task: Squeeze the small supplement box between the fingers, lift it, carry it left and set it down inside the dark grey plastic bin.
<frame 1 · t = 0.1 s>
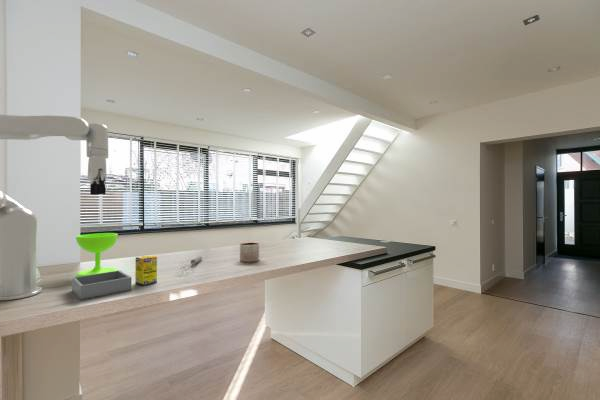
hand: (97, 194, 121), 37 cm above the countertop, tool pointing down, fingers open, 9 cm apart
planter: (249, 260, 163), on the countertop
kitchen whisk: (192, 267, 148), on the countertop
supplement box: (146, 283, 119), on the countertop
wineglass: (97, 274, 134), on the countertop
bin: (101, 290, 109), on the countertop
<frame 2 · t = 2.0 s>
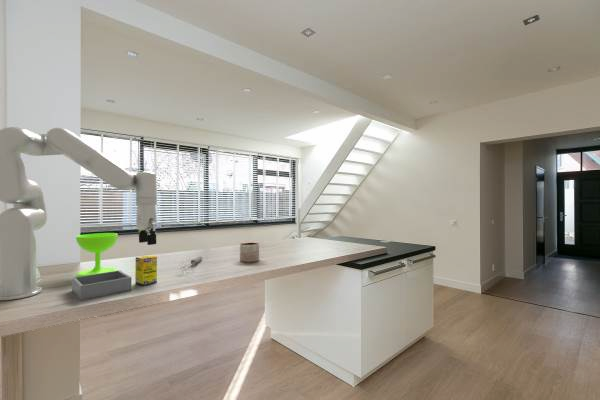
hand: (147, 243, 119), 16 cm above the countertop, tool pointing down, fingers open, 9 cm apart
nothing on the countertop moved.
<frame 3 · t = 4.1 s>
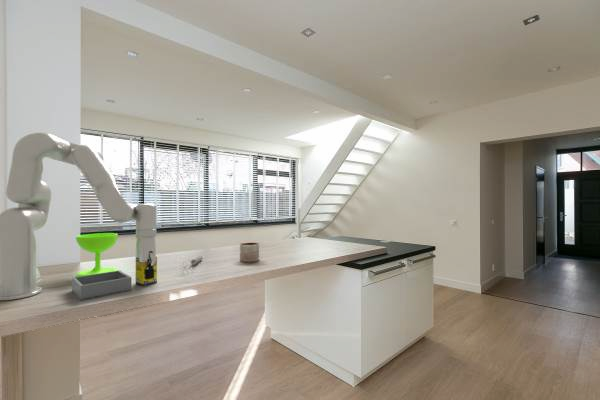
hand: (146, 276, 119), 3 cm above the countertop, tool pointing down, fingers closed on supplement box, 6 cm apart
supplement box: (146, 283, 119), on the countertop, touching gripper
everything else where it was.
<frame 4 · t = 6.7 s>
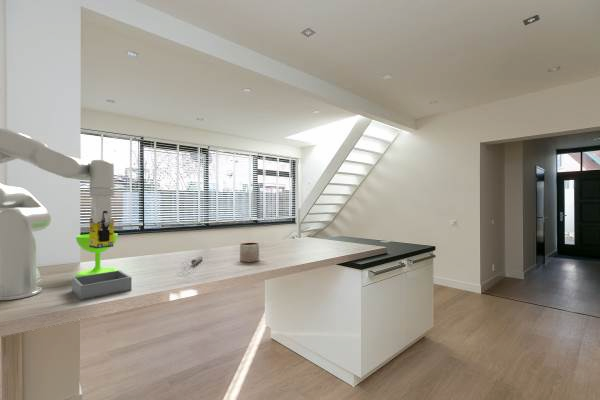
hand: (101, 239, 109), 19 cm above the countertop, tool pointing down, fingers closed on supplement box, 6 cm apart
supplement box: (101, 247, 109), point 16 cm above the countertop, touching gripper
everything else where it was.
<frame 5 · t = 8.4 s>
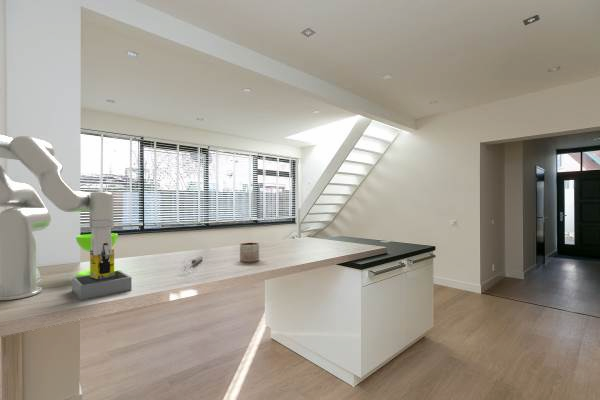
hand: (102, 271, 109), 7 cm above the countertop, tool pointing down, fingers closed on supplement box, 6 cm apart
supplement box: (102, 278, 109), point 4 cm above the countertop, touching gripper
everything else where it was.
when the fingers open (6 cm above the countertop, at t = 9.6 s): supplement box drops 3 cm, resting on bin.
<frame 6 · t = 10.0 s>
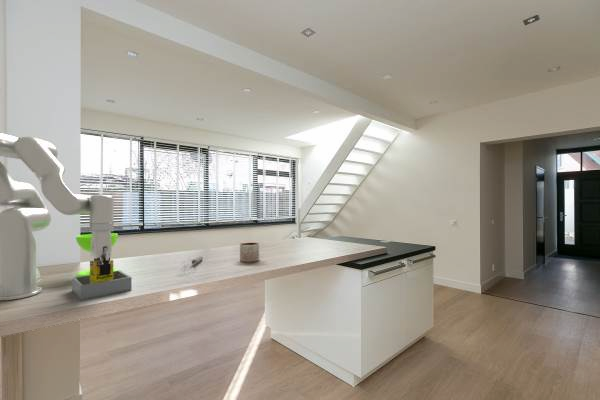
hand: (101, 272, 109), 7 cm above the countertop, tool pointing down, fingers open, 9 cm apart
supplement box: (101, 289, 109), resting on bin
everything else where it was.
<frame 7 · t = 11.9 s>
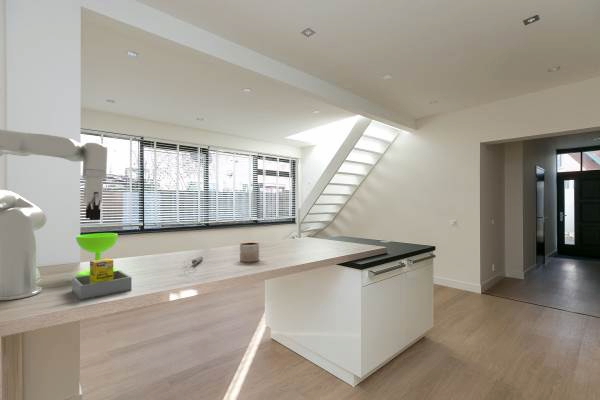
hand: (92, 219, 112), 27 cm above the countertop, tool pointing down, fingers open, 9 cm apart
nothing on the countertop moved.
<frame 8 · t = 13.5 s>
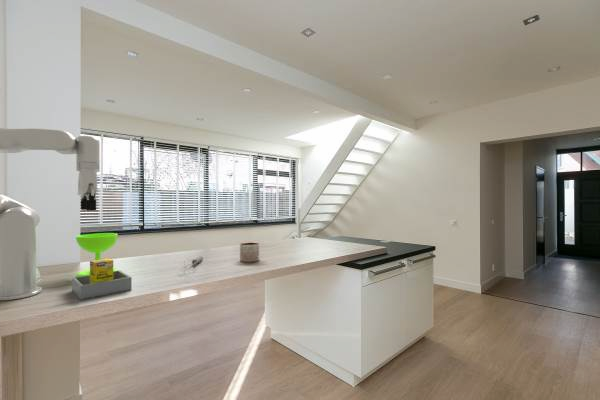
hand: (88, 210, 116), 30 cm above the countertop, tool pointing down, fingers open, 9 cm apart
nothing on the countertop moved.
at the end: supplement box inside the target area on the bin (0.4 cm from its centre), point 0.4 cm above the bin's base; the gripper is holding nothing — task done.
